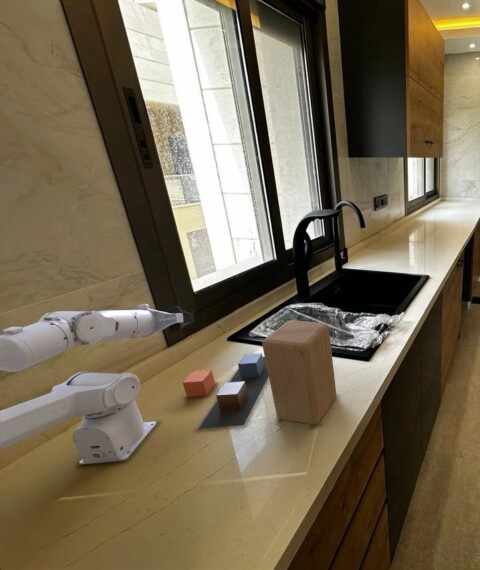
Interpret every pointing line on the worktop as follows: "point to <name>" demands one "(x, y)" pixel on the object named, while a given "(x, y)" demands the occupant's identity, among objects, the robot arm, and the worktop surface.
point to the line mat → (240, 416)
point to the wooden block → (300, 370)
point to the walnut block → (232, 396)
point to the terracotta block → (199, 383)
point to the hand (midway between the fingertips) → (177, 320)
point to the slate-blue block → (251, 365)
